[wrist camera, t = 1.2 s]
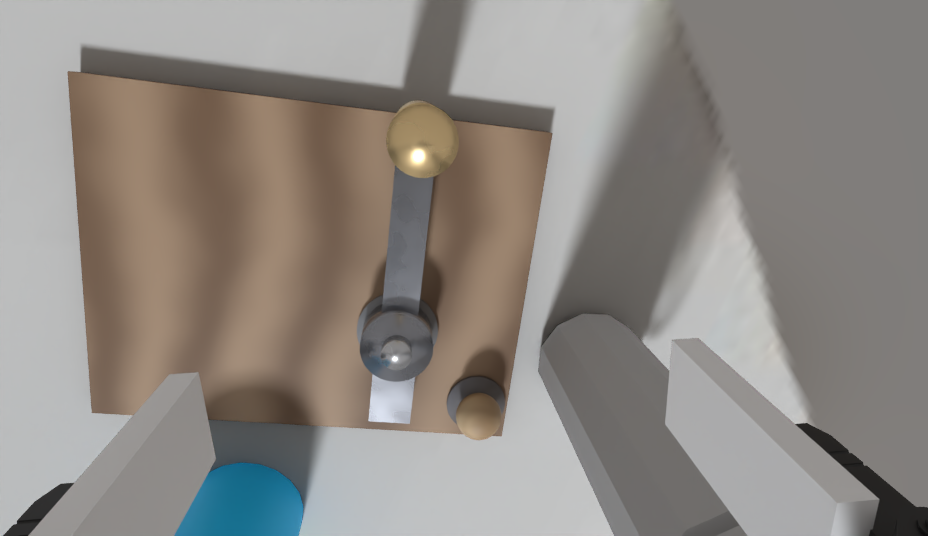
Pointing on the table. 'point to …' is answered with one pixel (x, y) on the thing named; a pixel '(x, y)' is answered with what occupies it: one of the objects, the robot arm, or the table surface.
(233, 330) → the nutcracker base
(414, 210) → the lever
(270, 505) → the mug
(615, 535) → the water bottle
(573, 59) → the table surface
